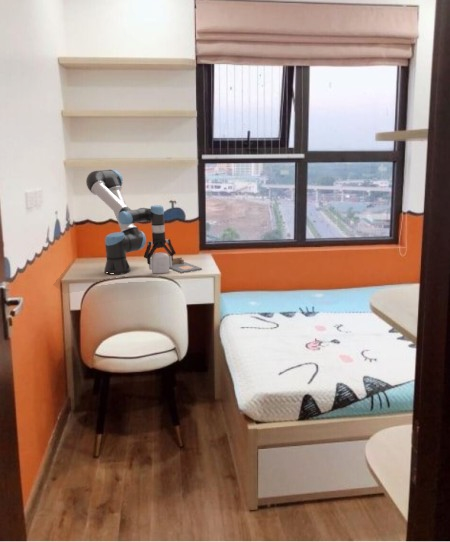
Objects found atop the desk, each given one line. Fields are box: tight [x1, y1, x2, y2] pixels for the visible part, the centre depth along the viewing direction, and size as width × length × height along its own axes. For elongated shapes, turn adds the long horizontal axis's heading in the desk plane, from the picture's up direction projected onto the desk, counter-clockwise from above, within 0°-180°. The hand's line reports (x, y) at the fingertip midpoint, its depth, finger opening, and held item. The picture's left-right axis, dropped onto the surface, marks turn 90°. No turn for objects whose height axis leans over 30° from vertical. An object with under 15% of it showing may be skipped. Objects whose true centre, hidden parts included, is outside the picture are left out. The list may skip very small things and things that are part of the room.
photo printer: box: [151, 252, 170, 274], centre depth 310 cm, size 10×4×12 cm, turn 98°
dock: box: [169, 256, 203, 274], centre depth 321 cm, size 14×22×4 cm, turn 32°
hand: (160, 267), depth 311 cm, fingers open, 12 cm apart
